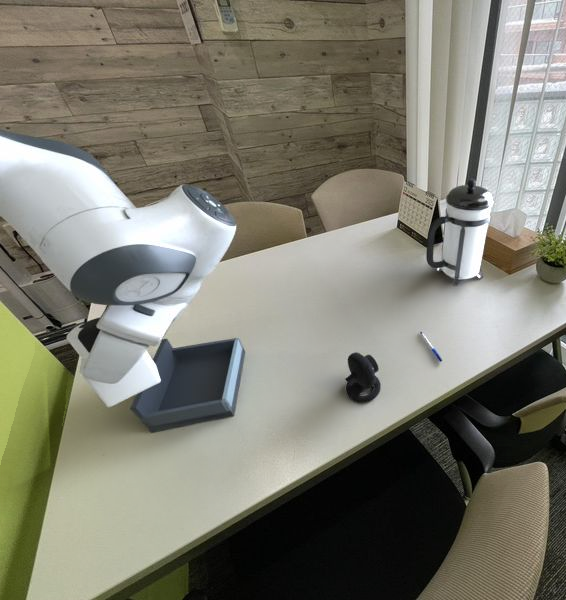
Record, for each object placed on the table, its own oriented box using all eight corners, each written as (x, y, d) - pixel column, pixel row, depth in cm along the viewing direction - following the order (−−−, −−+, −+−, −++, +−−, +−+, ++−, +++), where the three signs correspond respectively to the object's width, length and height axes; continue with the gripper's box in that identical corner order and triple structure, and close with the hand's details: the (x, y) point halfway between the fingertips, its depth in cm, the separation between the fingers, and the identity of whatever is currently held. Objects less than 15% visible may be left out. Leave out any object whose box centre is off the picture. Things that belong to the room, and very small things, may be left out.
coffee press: (441, 257, 112) (449, 167, 93) (487, 267, 107) (505, 174, 88) (424, 284, 100) (429, 186, 81) (475, 296, 95) (493, 196, 76)
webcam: (388, 390, 69) (387, 359, 63) (360, 411, 65) (355, 379, 59) (366, 369, 74) (363, 337, 68) (338, 387, 70) (332, 355, 64)
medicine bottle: (156, 365, 57) (117, 306, 52) (161, 382, 52) (119, 318, 47) (107, 388, 53) (60, 327, 48) (108, 409, 48) (55, 343, 43)
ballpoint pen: (443, 361, 75) (443, 358, 75) (440, 362, 75) (440, 359, 74) (421, 332, 83) (421, 330, 82) (418, 333, 82) (418, 331, 82)
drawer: (245, 352, 78) (234, 327, 73) (234, 416, 64) (220, 392, 60) (177, 363, 75) (162, 339, 70) (151, 433, 62) (129, 409, 57)
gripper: (155, 241, 51) (119, 298, 55) (92, 329, 36) (50, 399, 40) (197, 261, 55) (160, 314, 59) (157, 349, 39) (111, 411, 44)
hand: (115, 349), depth 49 cm, fingers closed on medicine bottle, 7 cm apart
